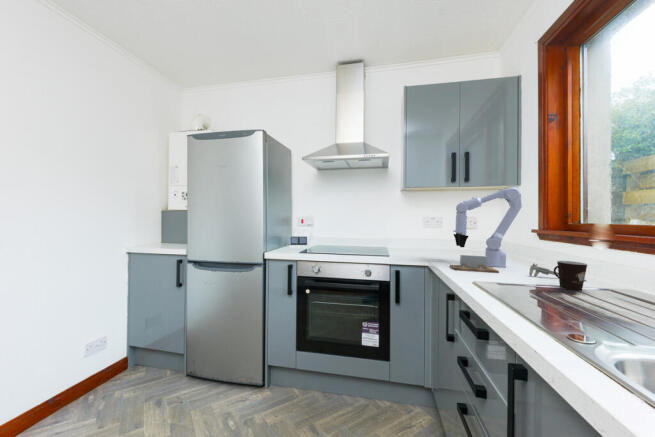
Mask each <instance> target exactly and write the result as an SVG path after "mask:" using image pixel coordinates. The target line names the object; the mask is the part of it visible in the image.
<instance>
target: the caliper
mask: <svg viewBox="0 0 655 437" xmlns="http://www.w3.org/2000/svg"><path fill="white" fill-rule="evenodd" d="M534 271H535V272H534ZM533 273H534V276H533ZM540 273H541V274H543V275H546V276H548V275H554V276H556V275H555V274H554V270H550V269H548V268H545V267H541V266H538V264H537V263H536V264H535V263H533V264H532V265H530V268H529V276H530V277H532V276H533V277H535V278H536V277H537V276H538V275H539V274H540ZM556 274H557V275H558V276H559V273H558V271H556ZM584 282H587V280H586V279H584Z"/></svg>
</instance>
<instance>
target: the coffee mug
mask: <svg viewBox="0 0 655 437" xmlns="http://www.w3.org/2000/svg"><path fill="white" fill-rule="evenodd" d="M556 262H557V266H554V268H553V271H554V274H555V275H554V276H555V277H557V278H558V279H559V280H558V281H559V287H560V288H561V287H562V288H561V289H564V288H565V289H564V290H568V289H569V291H576V292H578V291H581V292H582V291H583V287H584V284H585V281H584V280H585V277H586V273H587V268H588V264H587V263H584V262H580V261H570V260H557V261H556ZM557 270H558V271H557ZM556 272H558V273H559V276H558V275H557V274H556Z"/></svg>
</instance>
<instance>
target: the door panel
mask: <svg viewBox="0 0 655 437" xmlns="http://www.w3.org/2000/svg"><path fill="white" fill-rule="evenodd" d="M459 259H460V260H459V265H460V267H462V263H469V268H480V264H486V265H487V256H485V255H468V254H467V255H465V254H460V258H459Z"/></svg>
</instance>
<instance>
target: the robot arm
mask: <svg viewBox="0 0 655 437" xmlns="http://www.w3.org/2000/svg"><path fill="white" fill-rule="evenodd" d="M496 199H501V200H502V199H505V201H506V202H507V204H508V205H509V208H508V209H507V211H506V212H505V215H504V216H503V218H502V219H501V221H500V223H499V224H498V226H497V227H496V229H495V230H494V231H493V233H492V235H490V237H488V238H487V239H486V241H485V244H486V247H485V252H484V253H485V254H484V256H487V267H497V268H499V267H500V268H506V267H507V266H506V265H507V253H506V251H505V250H502V249H501V247H502V242H503V239H504V236H505V235H506V233H507V231H508V230H509V228H510V226H511V225H512V223H513V222H514V220H515V219H516V217H517V216H518V214H519V212H520V210H521V209H522V207H523V204H522V194H521V192H520V190H519V189H518V188H516V187H508V188H507V189H506V188H504V189H502V190H500V189H499V190H498V191H495V192H493V193H490V194H487V195H484V196H482V197H477V196H475V197H474V196H473V197H471V198H470V199H468V200H463V201H462V202H459V203H458V204H456V207H455V210H456V212H455V214H456V215H455V230H452V232H453V237H454V240H455V244H456V246H457V247H460V248H465V246H466V242H467V240H468V238H469V235H467V232H468V231H467V220H468V219H467V218H468V216H467V211H473V210H474V209H478V208H479V207H482V205H483V203H486V202H487V203H488V202H489V201H493V200H496Z"/></svg>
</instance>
